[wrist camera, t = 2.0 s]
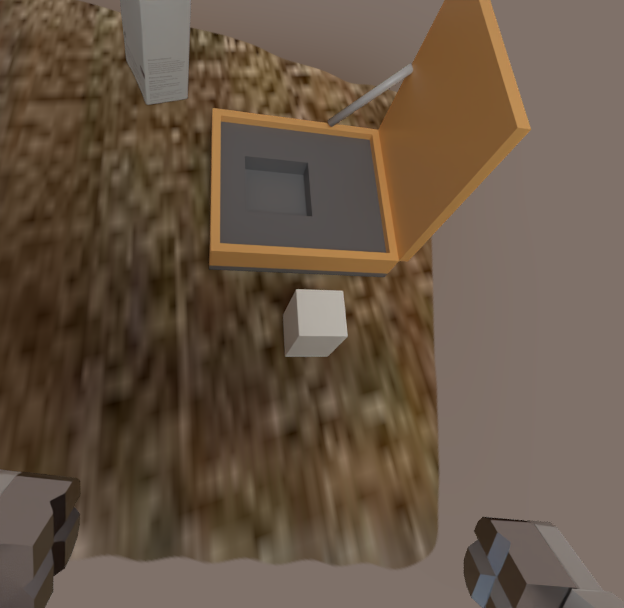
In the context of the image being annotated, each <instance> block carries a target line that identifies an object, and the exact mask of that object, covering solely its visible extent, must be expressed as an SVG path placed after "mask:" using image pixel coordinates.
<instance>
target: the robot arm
mask: <svg viewBox="0 0 624 608" xmlns="http://www.w3.org/2000/svg"><path fill="white" fill-rule="evenodd" d="M79 497H80V480H79V479H77V478H72V477H64V476H55V475H47V474H39V473H30V472H16V471H8V470H0V608H45V606H46V605H47V602H48V600H49V599H50V597H51V595H52V593H53V576H55V575H56V574H58V573H59V572H60V571H62V570H63V569H65V567H66V565H67V563H68V561H69V559H70V557H71V554H72V552H73V549H74V546H75V543H76V540H77V536H78V530H79V525H80V513H79V512H78V511H77V509H76V508H75V507H74V506H75V504H76V502H77V500H78V498H79ZM474 532H475V534H476V536H477V539H478V540H477V541H475V542H474V543H473V544H471V545H470V546H469V547H468V548H467V551H466V554H465V558H464V577H465V582H466V586H467V588H468V591H469V593H470V596H471V598H472V599H473V600H474V601H475V602H477V603H478V604H479V605H480V606H481V607H482V608H624V601H623V600H621V599H620V598H619V597H617V596H615V595H614V594H613V593H612V592H606V591H603V589H602V588H601V587H600V585H599V584H598V583H597V581H596V580H595V579H594V577H593V576H592V575H591V573H590V572H589V570H588V569H587V568H586V566H585V565H584V564H583V562H582V561H581V559H580V558H579V557H578V555H577V554H576V553H575V551H574V550H573V548H572V547H571V546H570V544H569V543H568V542H567V540H566V539H565V538H564V536H563V535H562V533H561V532H560V531H559V529H558V528H557V527H556V526H555V525H553V524H552V523H550V522H541V521H530V520H528V521H524V520H514V519H503V518H491V517H482V518H481V519H480V520H479V521H478V523H477V525H476V528H475V530H474Z"/></svg>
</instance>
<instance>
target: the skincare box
mask: <svg viewBox="0 0 624 608" xmlns="http://www.w3.org/2000/svg"><path fill="white" fill-rule="evenodd" d="M120 4H121V15H122V24H123V33H124V42H125V52H126V60H127V63H128V65H129V66H130V68H131V70H132V72H133V74H134V76H135V78H136V80H137V83H138V85H139V87H140V90H141V92H142V95H143V97H144V100H145V102H146V104H148V105H150V104H156V103H163V102H169V101H176V100H182V99H187V98H188V71H189V42H190V15H191V0H120Z"/></svg>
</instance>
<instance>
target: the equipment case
mask: <svg viewBox="0 0 624 608" xmlns="http://www.w3.org/2000/svg"><path fill="white" fill-rule="evenodd" d="M404 78H405V79H404ZM402 79H404V80H403V83H402V84H401V86H400V88H399V91H398V92H397V94H396V96H395V98H394V100H393V102H392V104H391V106H390V108H389V110H388V112H387V114H386V116H385V118H384V119H383V121H382V123H381V125H380V127H379V129H378V130H377V129H369V128H362V127H354V126H346V125H339V124H337V123H339V122H340V121H342V120H343V119H345V118H346V117H348V116H349V115H351V114H352V113H353V112H355V111H356V110H358V109H359V108H361V107H362V106H364V105H365V104H367V103H368V102H370V101H371V100H373V99H374V98H376V97H377V96H379V95H380V94H382V93H383V92H385V91H386V90H388V89H389V88H390V87H392V86H394V85H395V84H397V83H398V82H399V81H401V80H402ZM530 130H531V128H530V125H529V121H528V118H527V115H526V112H525V109H524V106H523V102H522V99H521V96H520V93H519V90H518V87H517V83H516V80H515V77H514V74H513V71H512V68H511V65H510V61H509V58H508V55H507V52H506V49H505V46H504V42H503V39H502V36H501V33H500V30H499V27H498V23H497V20H496V17H495V14H494V11H493V8H492V5H491V1H490V0H445V1H444V3H443V5H442V6H441V8H440V11H439V13H438V14H437V16H436V18H435V20H434V22H433V24H432V26H431V28H430V30H429V32H428V34H427V36H426V38H425V40H424V42H423V44H422V46H421V47H420V50H419V51H418V53H417V55H416V57H415V59H414V61H413V63H410V64H409V65H407V66H406V67H404V68H403V69H401V70H400V71H399V72H397V73H395V74H394V75H393V76H391V77H390V78H388V79H387V80H385V81H384V82H382V83H381V84H379V85H378V86H377V87H375V88H374V89H372V90H371V91H369V92H368V93H366V94H365V95H364V96H362V97H361V98H359V99H358V100H356V101H355V102H353V103H352V104H351V105H349V106H348V107H346V108H345V109H343V110H342V111H340V112H339V113H337V114H336V115H335V116H333V117H332V118H330V119H329V120H328V123H323V122H316V121H308V120H300V119H292V118H285V117H277V116H269V115H262V114H254V113H246V112H239V111H231V110H223V109H216V108H213V111H212V129H211V177H210V238H209V269H214V270H237V271H259V272H282V273H305V274H328V275H350V276H373V277H385V276H386V275H387V274H388V273H389V271H390V270H391V269H392V268H393V267H394V266H395V265H396V264H397V262H398V261H409V260H410V259H411V258H412V257H413V256H414V254H415V253H416V252H417V251H418V250H419V249H420V248H421V247H422V246H423V245H424V244H425V243H426V242H427V241H428V239H429V238H430V237H431V236H432V235H433V234H434V233H435V232H436V231H437V230H438V228H440V227H441V226H442V224H443V223H444V222H445V221H446V220H447V219H448V218H449V217H450V216H451V215H452V214H453V213H454V212H455V211H456V209H457V208H458V207H459V206H460V205H461V204H462V203H463V202H464V201H465V200H466V199H467V198H468V197H469V196H470V194H471V193H472V192H473V191H474V190H475V189H476V188H477V187H478V186H479V185H480V184H481V183H482V182H483V180H484V179H485V178H486V177H487V176H488V175H489V174H490V173H491V172H492V171H493V170H494V169H495V168H496V167H497V165H498V164H499V163H500V162H501V161H502V160H503V159H504V158H505V157H506V156H507V155H508V154H509V153H510V152H511V151H512V149H513V148H514V147H515V146H516V145H517V144H518V143H519V142H520V141H521V140H522V138H524V137H525V135H526V134H527V133H528V132H529V131H530Z"/></svg>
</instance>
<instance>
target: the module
mask: <svg viewBox="0 0 624 608" xmlns="http://www.w3.org/2000/svg"><path fill="white" fill-rule="evenodd" d="M283 327H284V348H285V357H328V356H329V355H330V354H331V353H332V352H333V351H334V350H335V349H336V348H337V347H338V346H339V345H340V344H341V343H342V342H343V341H344V340H345V339H346V338H347V337H348V335H347V325H346V315H345V306H344V296H343V291H333V290H305V289H296V291H295V293H294V295H293V297H292V298H291V300H290V302H289V304H288V306H287V308H286V310H285V312H284V314H283Z"/></svg>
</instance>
